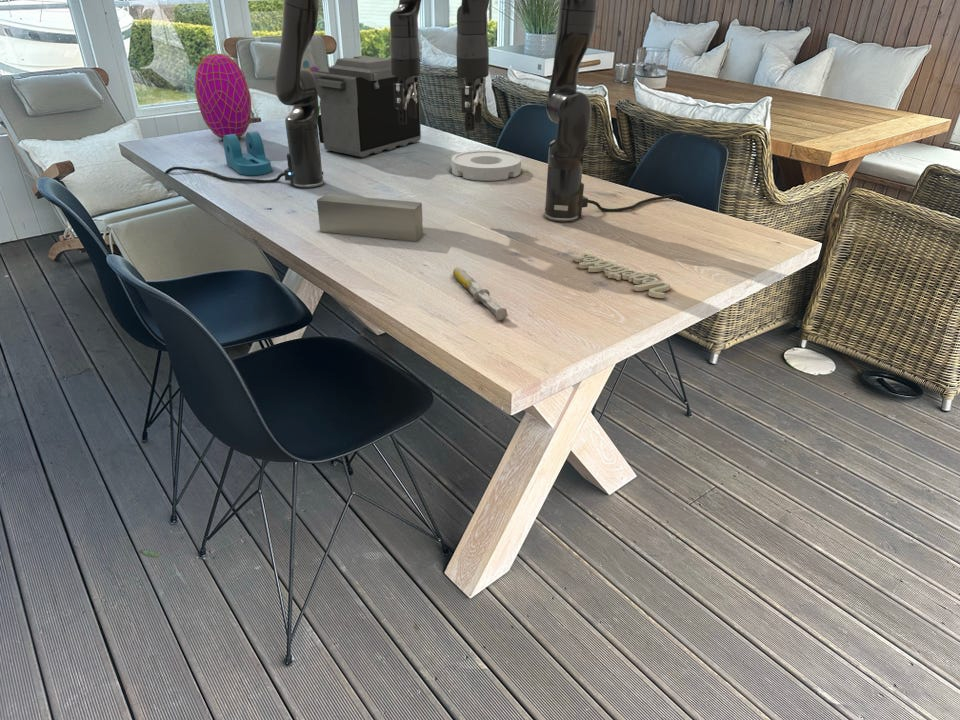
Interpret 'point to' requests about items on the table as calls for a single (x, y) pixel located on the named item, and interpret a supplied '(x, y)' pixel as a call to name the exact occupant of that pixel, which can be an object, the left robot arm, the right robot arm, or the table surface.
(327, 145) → the cooler box
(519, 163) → the ashtray
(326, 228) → the bar
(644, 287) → the decorative sign
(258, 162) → the camera mount
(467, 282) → the syringe
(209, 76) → the decorative egg
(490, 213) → the table surface
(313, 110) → the left robot arm
